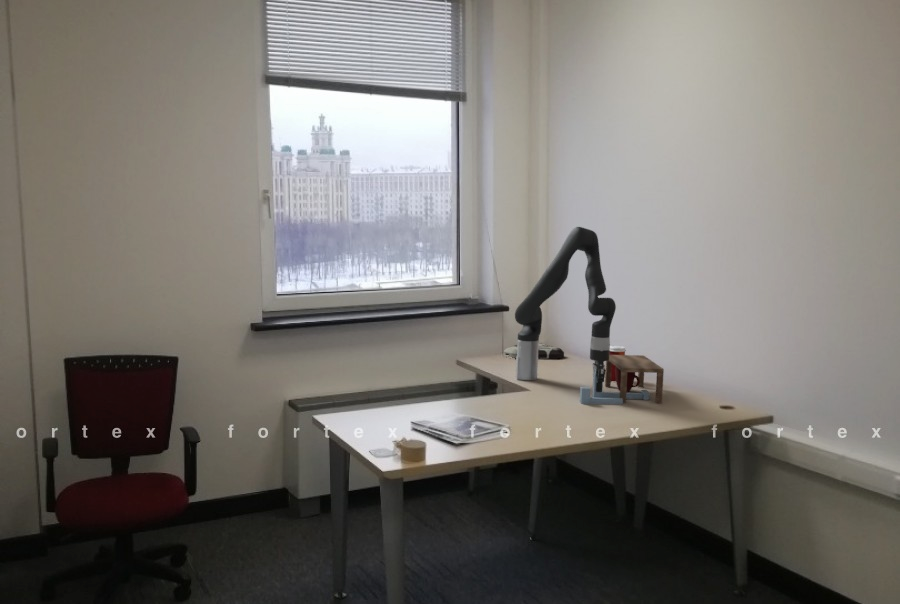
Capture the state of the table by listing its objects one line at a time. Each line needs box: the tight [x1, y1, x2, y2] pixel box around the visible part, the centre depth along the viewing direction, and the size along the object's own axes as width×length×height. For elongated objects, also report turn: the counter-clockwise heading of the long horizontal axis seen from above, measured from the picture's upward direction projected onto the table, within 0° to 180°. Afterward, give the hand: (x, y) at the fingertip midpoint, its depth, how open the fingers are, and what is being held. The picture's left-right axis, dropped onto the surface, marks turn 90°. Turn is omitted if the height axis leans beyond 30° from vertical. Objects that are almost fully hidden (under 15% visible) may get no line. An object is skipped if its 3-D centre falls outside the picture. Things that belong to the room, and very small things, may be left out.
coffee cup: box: [609, 345, 627, 382], centre depth 345 cm, size 8×8×15 cm
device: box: [503, 342, 565, 360], centre depth 405 cm, size 33×27×5 cm
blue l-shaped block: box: [579, 386, 624, 405], centre depth 302 cm, size 16×3×6 cm, turn 91°
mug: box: [615, 367, 640, 393], centre depth 322 cm, size 11×8×10 cm
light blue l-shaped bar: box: [592, 372, 650, 401], centre depth 311 cm, size 22×5×10 cm, turn 90°
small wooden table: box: [604, 354, 665, 404], centre depth 318 cm, size 16×30×14 cm, turn 1°
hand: (597, 390), depth 311 cm, fingers closed on light blue l-shaped bar, 3 cm apart
